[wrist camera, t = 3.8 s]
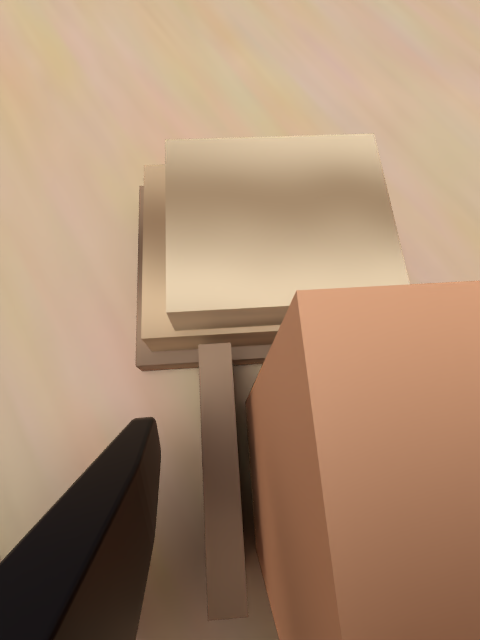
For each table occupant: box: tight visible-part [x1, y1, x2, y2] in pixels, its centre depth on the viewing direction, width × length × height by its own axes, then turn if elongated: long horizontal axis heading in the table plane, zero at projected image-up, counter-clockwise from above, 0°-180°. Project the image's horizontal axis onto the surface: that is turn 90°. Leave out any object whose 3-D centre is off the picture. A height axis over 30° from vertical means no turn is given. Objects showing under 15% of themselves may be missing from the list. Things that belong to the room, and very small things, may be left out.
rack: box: [136, 133, 410, 621], centre depth 12 cm, size 15×10×5 cm, turn 4°
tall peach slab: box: [245, 281, 480, 640], centre depth 8 cm, size 5×2×11 cm, turn 4°
